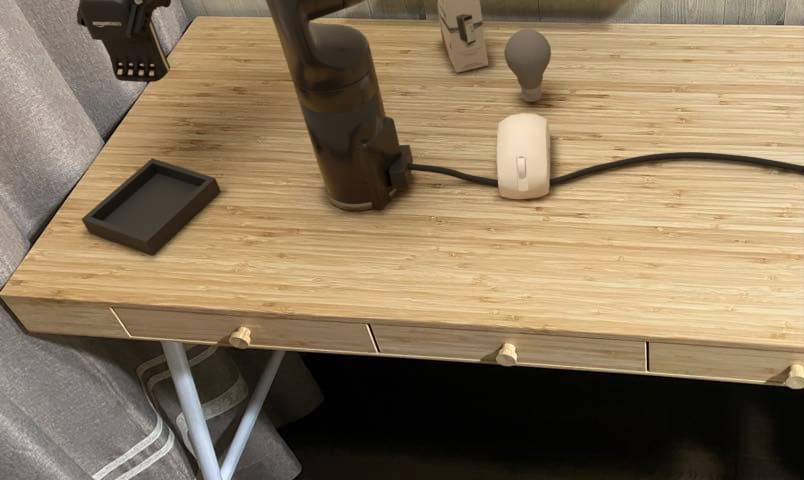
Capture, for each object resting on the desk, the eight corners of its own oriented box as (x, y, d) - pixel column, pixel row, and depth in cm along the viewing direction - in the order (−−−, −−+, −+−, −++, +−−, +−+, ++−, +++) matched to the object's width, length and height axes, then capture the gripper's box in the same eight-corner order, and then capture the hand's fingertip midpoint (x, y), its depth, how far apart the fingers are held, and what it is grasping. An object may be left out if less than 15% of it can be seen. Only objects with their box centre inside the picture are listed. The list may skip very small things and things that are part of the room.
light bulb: (505, 110, 134) (496, 44, 126) (516, 84, 137) (508, 18, 130) (548, 113, 132) (542, 47, 125) (559, 87, 136) (554, 21, 129)
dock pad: (221, 191, 127) (215, 177, 125) (152, 255, 120) (146, 242, 118) (158, 171, 131) (151, 157, 129) (88, 232, 123) (81, 218, 122)
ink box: (441, 43, 146) (428, -33, 137) (473, 35, 147) (462, -41, 138) (456, 74, 140) (443, -3, 131) (489, 66, 141) (479, -11, 132)
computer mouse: (497, 202, 121) (491, 161, 116) (501, 136, 130) (496, 95, 125) (551, 199, 121) (547, 158, 116) (551, 133, 129) (547, 92, 125)
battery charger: (109, 85, 123) (68, 0, 115) (123, 67, 125) (84, -17, 117) (161, 87, 122) (124, 1, 113) (174, 69, 124) (139, -16, 116)
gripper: (70, -130, 115) (39, 13, 117) (163, -114, 110) (130, 36, 111) (121, -105, 122) (91, 30, 124) (211, -88, 117) (179, 52, 118)
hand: (110, 32), depth 118 cm, fingers closed on battery charger, 7 cm apart
